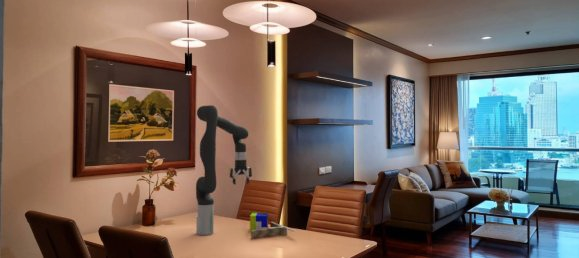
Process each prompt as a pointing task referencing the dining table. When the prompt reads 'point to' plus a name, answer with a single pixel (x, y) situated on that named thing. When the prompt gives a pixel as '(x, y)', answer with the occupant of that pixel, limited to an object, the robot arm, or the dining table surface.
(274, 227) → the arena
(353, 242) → the dining table surface
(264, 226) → the puzzle toy
